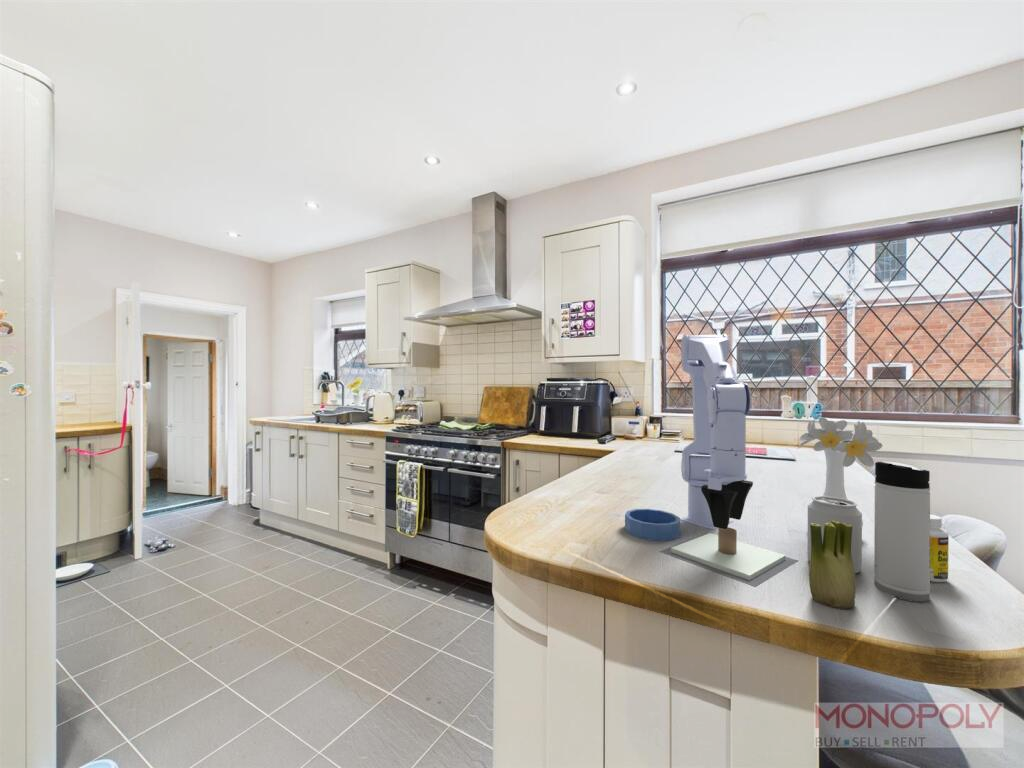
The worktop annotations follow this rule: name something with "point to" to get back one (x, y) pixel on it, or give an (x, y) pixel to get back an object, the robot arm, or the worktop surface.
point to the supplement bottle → (938, 550)
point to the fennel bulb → (832, 565)
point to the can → (841, 512)
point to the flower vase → (841, 450)
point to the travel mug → (902, 531)
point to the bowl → (652, 524)
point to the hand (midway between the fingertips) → (727, 522)
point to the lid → (729, 554)
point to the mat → (752, 582)
